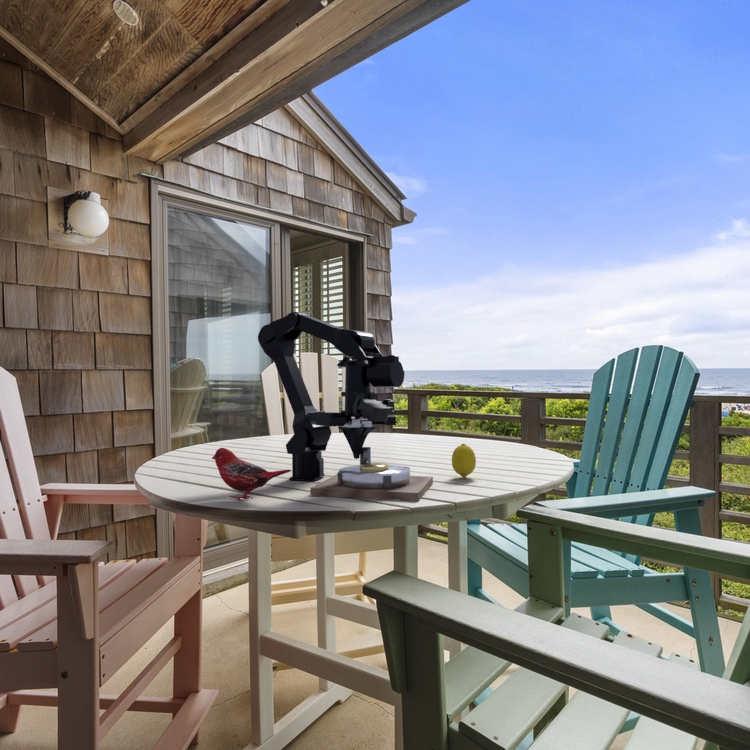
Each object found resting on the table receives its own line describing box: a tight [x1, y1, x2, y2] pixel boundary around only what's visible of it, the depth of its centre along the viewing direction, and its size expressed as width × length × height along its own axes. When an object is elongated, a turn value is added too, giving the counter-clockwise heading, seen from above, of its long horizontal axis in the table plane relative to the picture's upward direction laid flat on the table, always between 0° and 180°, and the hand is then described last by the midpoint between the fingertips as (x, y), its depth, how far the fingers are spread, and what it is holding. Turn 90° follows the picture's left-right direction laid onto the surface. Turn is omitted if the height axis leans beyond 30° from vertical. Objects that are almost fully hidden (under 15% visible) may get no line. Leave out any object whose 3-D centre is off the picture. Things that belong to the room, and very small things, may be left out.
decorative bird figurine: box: [211, 447, 292, 500], centre depth 99 cm, size 3×18×10 cm, turn 72°
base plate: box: [309, 473, 434, 502], centre depth 107 cm, size 22×17×2 cm
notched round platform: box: [337, 446, 411, 489], centre depth 107 cm, size 16×16×6 cm
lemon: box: [451, 443, 477, 479], centre depth 119 cm, size 6×6×8 cm
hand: (356, 458), depth 112 cm, fingers closed
